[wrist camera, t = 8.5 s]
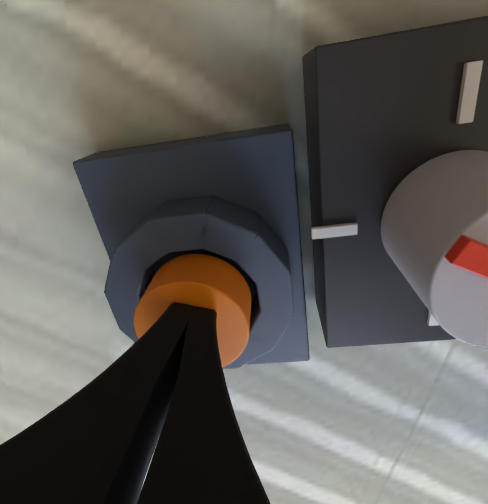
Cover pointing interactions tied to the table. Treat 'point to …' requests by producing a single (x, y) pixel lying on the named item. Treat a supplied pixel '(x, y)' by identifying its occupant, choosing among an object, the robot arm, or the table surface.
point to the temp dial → (444, 240)
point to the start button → (201, 298)
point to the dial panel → (383, 163)
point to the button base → (206, 225)
